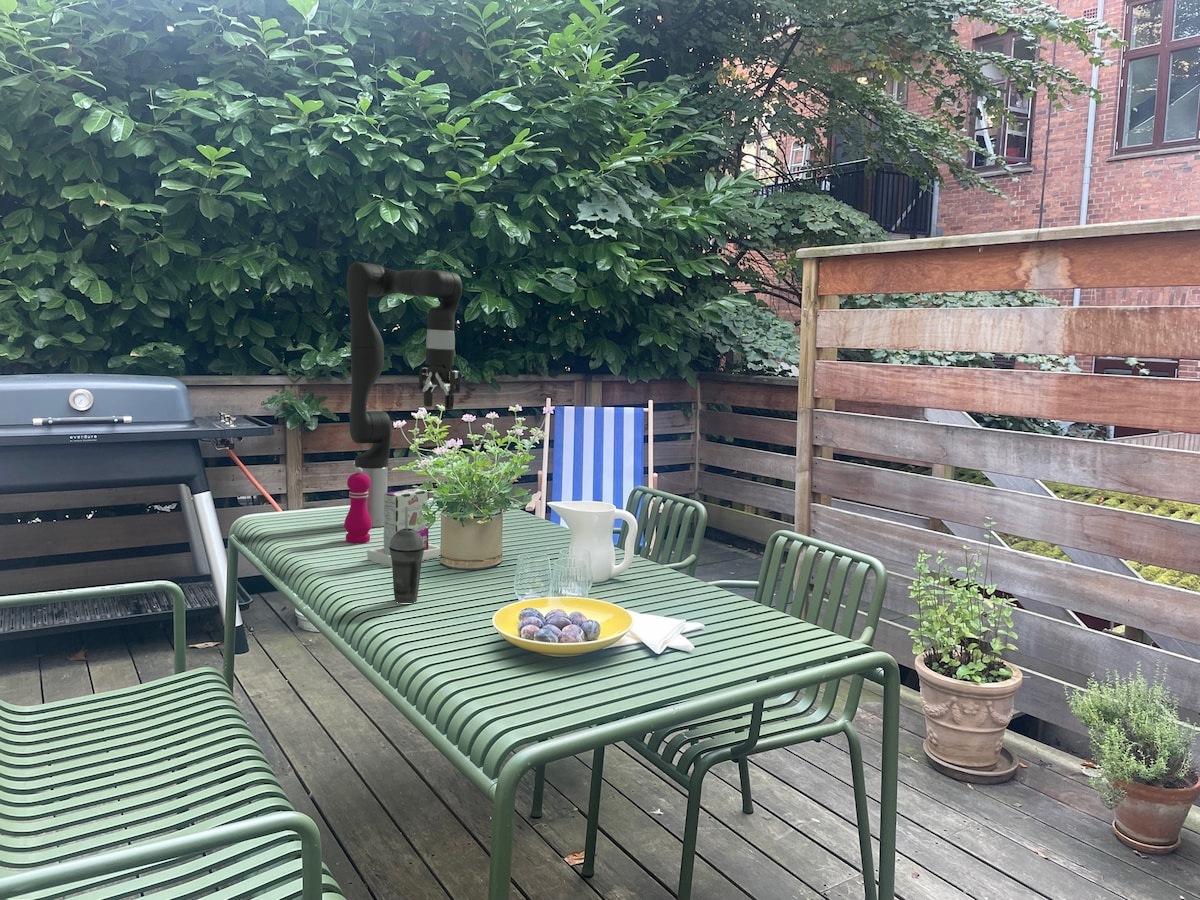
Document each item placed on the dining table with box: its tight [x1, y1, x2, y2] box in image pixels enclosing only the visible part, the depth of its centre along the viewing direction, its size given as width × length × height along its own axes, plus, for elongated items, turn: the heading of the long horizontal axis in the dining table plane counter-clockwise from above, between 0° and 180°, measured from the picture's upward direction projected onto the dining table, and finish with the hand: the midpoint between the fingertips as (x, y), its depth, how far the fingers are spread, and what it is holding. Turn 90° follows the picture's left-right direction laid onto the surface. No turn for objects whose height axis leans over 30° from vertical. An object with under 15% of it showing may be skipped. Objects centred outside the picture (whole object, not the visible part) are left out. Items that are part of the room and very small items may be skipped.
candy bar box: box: [383, 488, 430, 555], centre depth 220 cm, size 11×5×16 cm, turn 147°
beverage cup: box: [389, 507, 425, 604], centre depth 184 cm, size 7×7×20 cm
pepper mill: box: [343, 467, 373, 544], centre depth 236 cm, size 7×7×20 cm
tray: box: [366, 543, 441, 568], centre depth 221 cm, size 10×16×2 cm, turn 141°
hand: (438, 407), depth 237 cm, fingers open, 8 cm apart
